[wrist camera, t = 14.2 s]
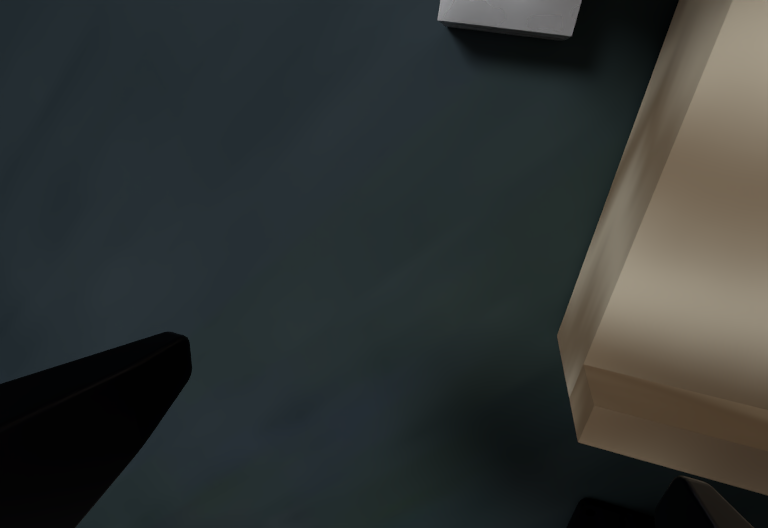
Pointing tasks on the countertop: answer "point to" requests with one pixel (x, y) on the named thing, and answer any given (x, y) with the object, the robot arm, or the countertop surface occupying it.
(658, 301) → the slot block
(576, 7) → the scraper
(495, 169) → the countertop surface
